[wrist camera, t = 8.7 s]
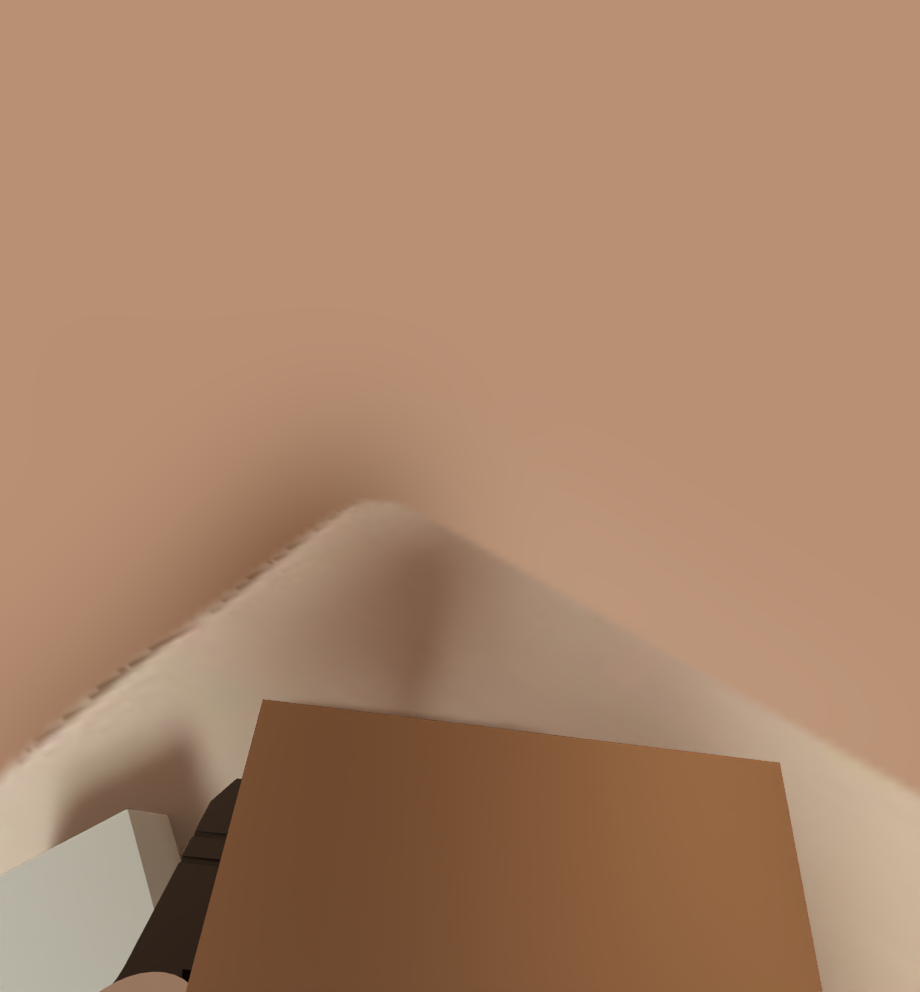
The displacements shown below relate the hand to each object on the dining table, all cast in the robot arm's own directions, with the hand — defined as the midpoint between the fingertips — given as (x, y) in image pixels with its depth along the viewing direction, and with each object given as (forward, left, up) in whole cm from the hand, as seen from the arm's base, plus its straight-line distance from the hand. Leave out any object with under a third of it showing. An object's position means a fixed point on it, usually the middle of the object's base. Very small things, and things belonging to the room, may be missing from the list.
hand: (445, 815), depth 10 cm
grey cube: (+10, 0, -14) cm, 17 cm away
